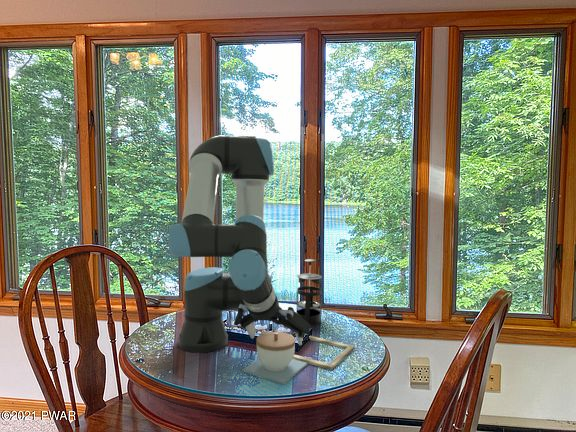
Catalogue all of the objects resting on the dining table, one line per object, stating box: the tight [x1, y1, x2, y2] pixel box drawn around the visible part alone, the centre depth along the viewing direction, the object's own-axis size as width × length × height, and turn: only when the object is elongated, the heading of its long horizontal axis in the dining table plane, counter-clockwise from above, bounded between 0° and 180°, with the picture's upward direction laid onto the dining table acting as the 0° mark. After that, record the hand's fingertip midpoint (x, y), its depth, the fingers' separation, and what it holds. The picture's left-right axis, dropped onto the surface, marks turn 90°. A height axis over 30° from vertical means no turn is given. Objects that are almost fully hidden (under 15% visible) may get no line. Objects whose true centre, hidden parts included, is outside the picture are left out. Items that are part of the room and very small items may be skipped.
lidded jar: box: [255, 331, 297, 371], centre depth 111 cm, size 11×11×9 cm
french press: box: [296, 258, 323, 326], centre depth 150 cm, size 12×9×23 cm
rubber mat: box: [241, 358, 308, 385], centre depth 112 cm, size 13×13×1 cm
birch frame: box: [293, 335, 355, 371], centre depth 123 cm, size 17×17×1 cm
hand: (277, 337), depth 111 cm, fingers open, 13 cm apart
